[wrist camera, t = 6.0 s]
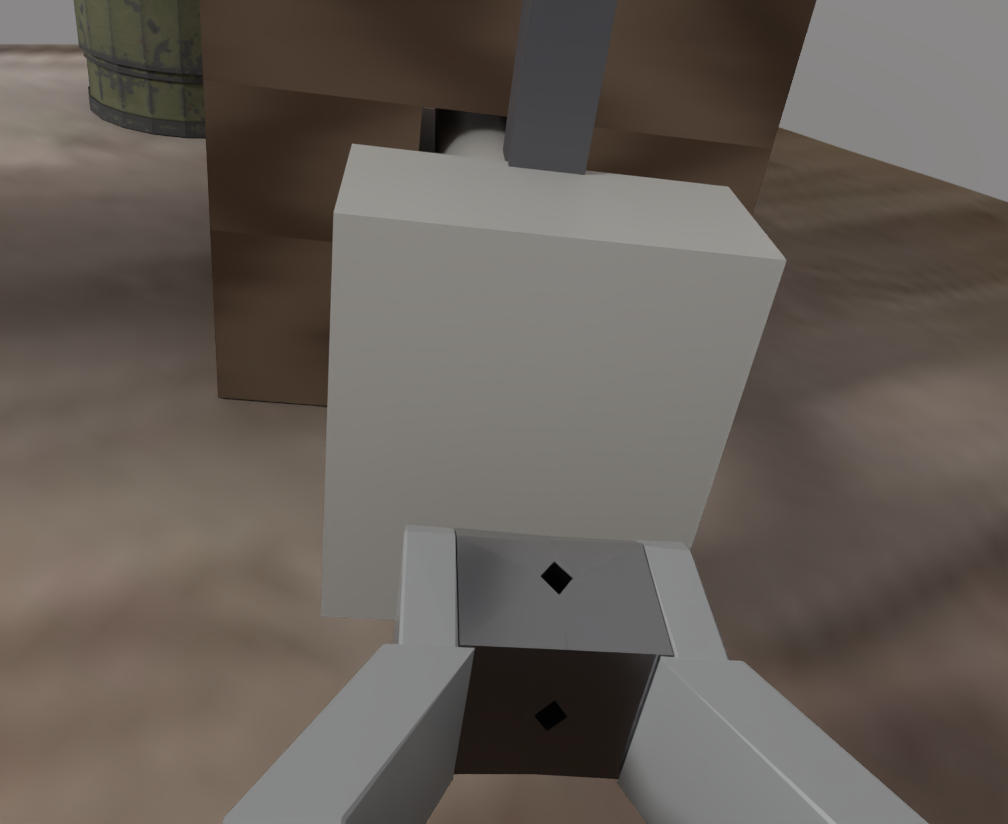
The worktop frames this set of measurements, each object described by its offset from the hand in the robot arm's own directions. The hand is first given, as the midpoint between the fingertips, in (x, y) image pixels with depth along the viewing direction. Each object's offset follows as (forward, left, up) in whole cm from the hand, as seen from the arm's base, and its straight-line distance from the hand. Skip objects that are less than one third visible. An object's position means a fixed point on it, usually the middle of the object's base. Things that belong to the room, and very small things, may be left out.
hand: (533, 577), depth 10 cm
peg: (0, +10, -3) cm, 11 cm away
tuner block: (0, +18, -6) cm, 19 cm away
